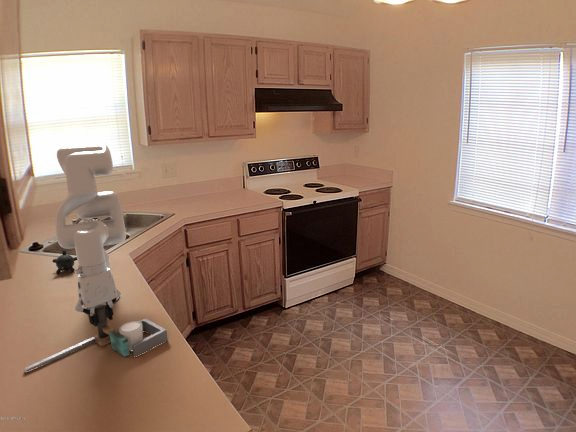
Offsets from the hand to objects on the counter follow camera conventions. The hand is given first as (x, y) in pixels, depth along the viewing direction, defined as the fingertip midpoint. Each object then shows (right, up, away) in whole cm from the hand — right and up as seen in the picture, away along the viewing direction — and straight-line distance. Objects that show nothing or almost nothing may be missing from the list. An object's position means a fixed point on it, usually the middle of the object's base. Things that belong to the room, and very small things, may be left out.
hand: (102, 321), depth 126 cm
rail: (-9, -9, -4) cm, 13 cm away
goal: (+12, -7, 0) cm, 14 cm away
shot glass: (+10, -8, -1) cm, 13 cm away
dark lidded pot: (-45, +7, +61) cm, 76 cm away
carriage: (+5, -8, -2) cm, 9 cm away
